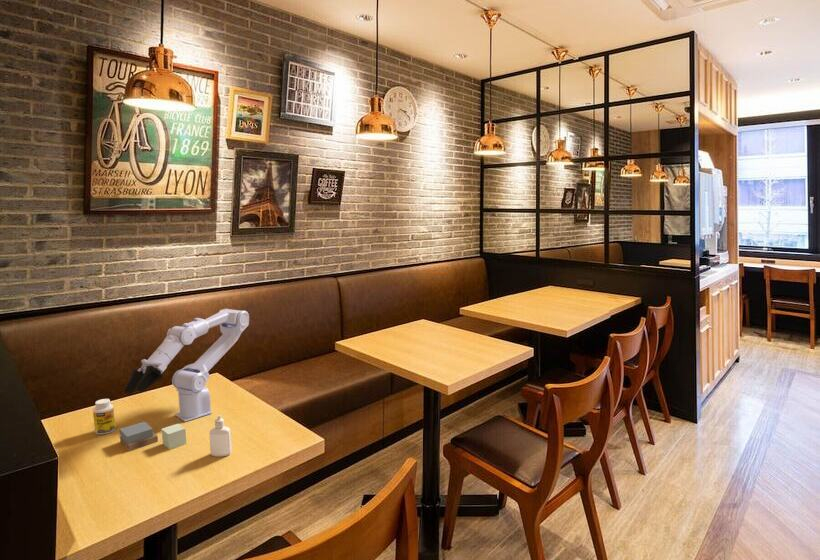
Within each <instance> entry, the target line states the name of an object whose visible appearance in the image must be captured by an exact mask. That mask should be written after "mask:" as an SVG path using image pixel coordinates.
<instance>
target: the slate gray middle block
mask: <svg viewBox="0 0 820 560" xmlns="http://www.w3.org/2000/svg"><path fill="white" fill-rule="evenodd" d="M153 432H154V430H153V427H151V426H150V425H149V424H148V423H147V422H146V421H142V422H138V423H135V424H131V425H129V426H125V427H122V428H119V438H120V437H121V438H122V439H123V440H124V441H125V442H126V443H127V444H131V443H134V442H137V441H141V440H144V439H147V438H150V437H153Z"/></svg>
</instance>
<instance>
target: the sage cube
mask: <svg viewBox="0 0 820 560" xmlns="http://www.w3.org/2000/svg"><path fill="white" fill-rule="evenodd" d="M161 436H162V438H161V439H162V445H163V446H165V447H166V448H167V449H168V450H172V449H176V448H178V447H180V446H183V445H186V444H187V435H186V428H185V427H184V426H183V425H181V424H180V423H179V422H178V423H176V424H172V425H170V426H169V425H168V426H166V427H163V428H161ZM175 447H176V448H175Z"/></svg>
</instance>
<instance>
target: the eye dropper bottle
mask: <svg viewBox="0 0 820 560" xmlns="http://www.w3.org/2000/svg"><path fill="white" fill-rule="evenodd" d="M224 420H225V419H224V418H222V417H221V414H218V415H217V418H216V419H214V427H212V428H211V429H210V430H209V446H210V447H209V449H210V455H211V456H212V457H215V458H216V457H217V458H218V457H219V458H220V457H226V456H227V457H228V456H229V455H231V454H232V449H233V448H232V434H231V433H232V432H231V429H230V427H228V426H225V421H224Z"/></svg>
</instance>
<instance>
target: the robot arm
mask: <svg viewBox="0 0 820 560" xmlns="http://www.w3.org/2000/svg"><path fill="white" fill-rule="evenodd" d="M249 324H250V313H248V311H247V310H238V309H230V308H223V309H219V311H218V312H216V313H215V314H212V315H211V316H209V317H207V318H205V319H203V318H202V317H201V318H200V317H195V318H193V320H192V321H190V322H185V323H183V324H182V325H181V326H178V325H175V326H172V328H169V329H168V330H167V333H166V337H165V338H164V339H163V341H162V342H161V344H160V345H159V346H158V347H157V349H155V351H154V352H153V353H152V354H151V355H150V356H149V357H148V359H146V358H144V359H141V360H140V362H141V364H142V365H141V367H140V368H138V369H136V368H134V369H132V370H131V373H130V378H129V380H128V382H127V383H126V386H125V387H124V389H123V392H125V393H126V394H127V395H131V394H133V393H134V392H135V391H136V390H137V391H138V392H139V393H143V392H144V391H146V390H147V389H148V388H150V387H151V386H152V385H153V384H154V383H157V382H158V381H160V380H161V379H164V375H163V374H162V373H164V371H166V369H167V368H168V365H169V364H170V363H171V362H172V360H174V358H175V357H176V355H178V354H179V352H180V351H181V350H182V349H183V347H185V345H187V346H189V345H191V344H192V343H193V342H194V340H195V339H197V338H198V337H201V336H204V335H205V334H206V335H207V333H208V332H209V329H211V328H214V327H217V326H219V328H220V333H221V334H222V335H221V336H219V337H218V339H217V340H216V341H215V342H214V343H212V345H210V347H208V349H207V350H206V351H204V353H203V354H202V355H200V356H199V358H197V360H196V361H195V362H194V363H190V364H187V365H185V366H184V367H183V368H181V369H179V370H176V371H175V372H174V374H173V375H172V378H171V382H172V386H173V387H174V388H176V392H178V393H177V394H178V406H179V411H178V412H175V416H176V417H177V418H179V419H180V420H181V421H183V422H189V421H191V420H195V419H198V418H202V417H204V416H207V415H210V414H212V413H213V412H212V408H211V407H212V406H211V394H210V390H209V389H208V387H206V383H207V382H208V380H209V379H210V373H209V371H211V369H213V367H214V366H215V365H216V364H217V363H218V362H219V361H220V360H221V358H222V357H223V356H225V355H226V353H227V352H228V351H229V350H230V349H231V348H232V347H233V346H234V345H235V344H236V342H238V340H239V338H240V337H241V335H242V333H243V332H244V331H245V329H247V327H249Z"/></svg>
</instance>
